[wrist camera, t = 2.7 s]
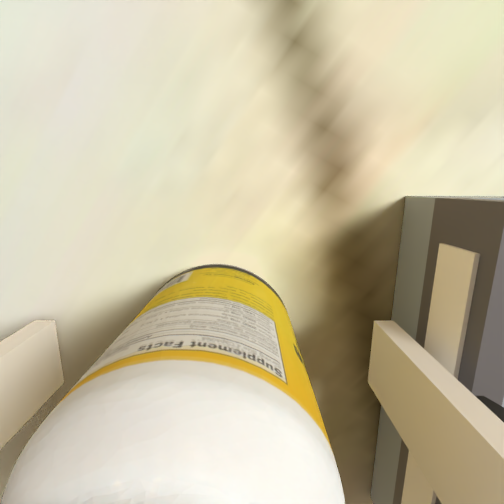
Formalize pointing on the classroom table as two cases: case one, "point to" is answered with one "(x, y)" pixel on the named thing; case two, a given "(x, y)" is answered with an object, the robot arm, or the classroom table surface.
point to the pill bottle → (188, 409)
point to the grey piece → (445, 316)
